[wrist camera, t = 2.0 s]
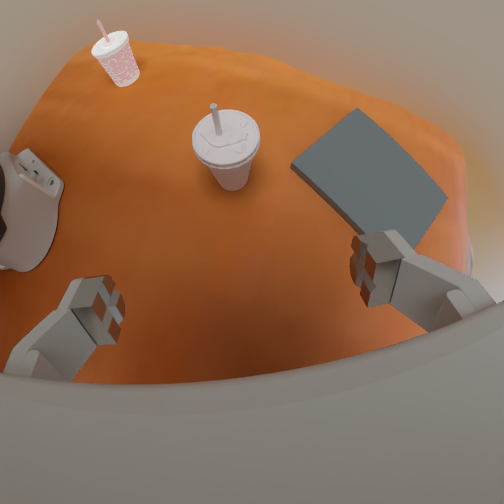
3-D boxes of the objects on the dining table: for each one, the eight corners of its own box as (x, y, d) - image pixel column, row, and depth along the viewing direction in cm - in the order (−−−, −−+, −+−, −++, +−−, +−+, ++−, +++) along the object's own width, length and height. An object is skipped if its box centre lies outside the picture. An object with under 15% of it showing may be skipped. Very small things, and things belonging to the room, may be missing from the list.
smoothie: (212, 152, 34) (191, 78, 21) (262, 157, 34) (265, 82, 20) (202, 198, 33) (171, 136, 20) (255, 204, 33) (255, 142, 19)
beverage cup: (105, 86, 37) (71, 33, 23) (127, 63, 38) (101, 9, 24) (127, 93, 37) (94, 34, 23) (151, 68, 37) (126, 8, 24)
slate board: (290, 167, 34) (291, 162, 32) (354, 113, 35) (357, 107, 34) (392, 270, 32) (398, 269, 30) (442, 200, 33) (448, 197, 32)
